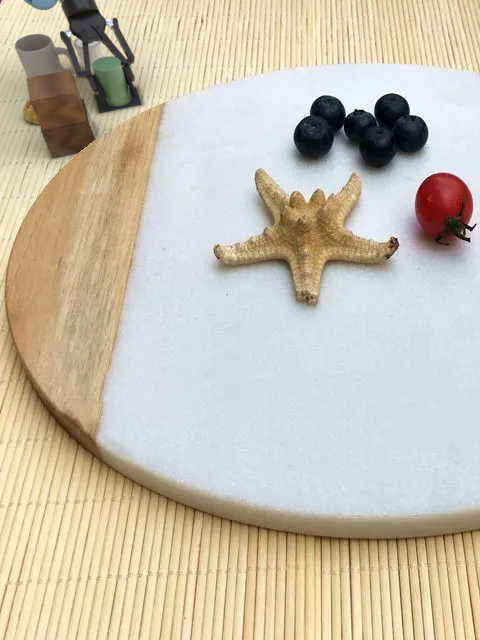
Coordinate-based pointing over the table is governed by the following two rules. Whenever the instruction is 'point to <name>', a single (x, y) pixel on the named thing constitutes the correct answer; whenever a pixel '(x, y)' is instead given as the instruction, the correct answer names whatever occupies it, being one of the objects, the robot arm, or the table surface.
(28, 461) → the table surface
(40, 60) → the mug
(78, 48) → the white cup
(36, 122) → the pastry
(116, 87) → the green canister
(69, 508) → the table surface
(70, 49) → the robot arm
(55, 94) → the walnut block
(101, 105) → the slate mat
